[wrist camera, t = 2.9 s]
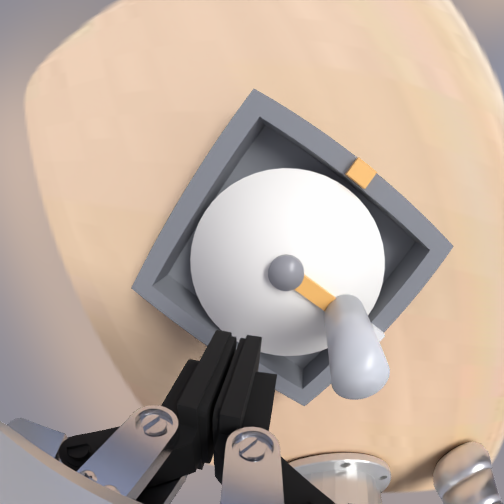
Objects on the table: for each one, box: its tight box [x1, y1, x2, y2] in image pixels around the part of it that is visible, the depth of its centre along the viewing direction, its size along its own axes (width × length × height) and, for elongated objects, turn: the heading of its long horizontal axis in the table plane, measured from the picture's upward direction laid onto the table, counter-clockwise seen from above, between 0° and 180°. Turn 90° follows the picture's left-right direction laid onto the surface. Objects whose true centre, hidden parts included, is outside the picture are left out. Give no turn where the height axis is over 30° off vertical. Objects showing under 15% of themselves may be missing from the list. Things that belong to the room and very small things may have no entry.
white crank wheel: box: [190, 168, 390, 399], centre depth 11 cm, size 9×9×7 cm
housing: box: [132, 89, 453, 406], centre depth 14 cm, size 12×12×4 cm
